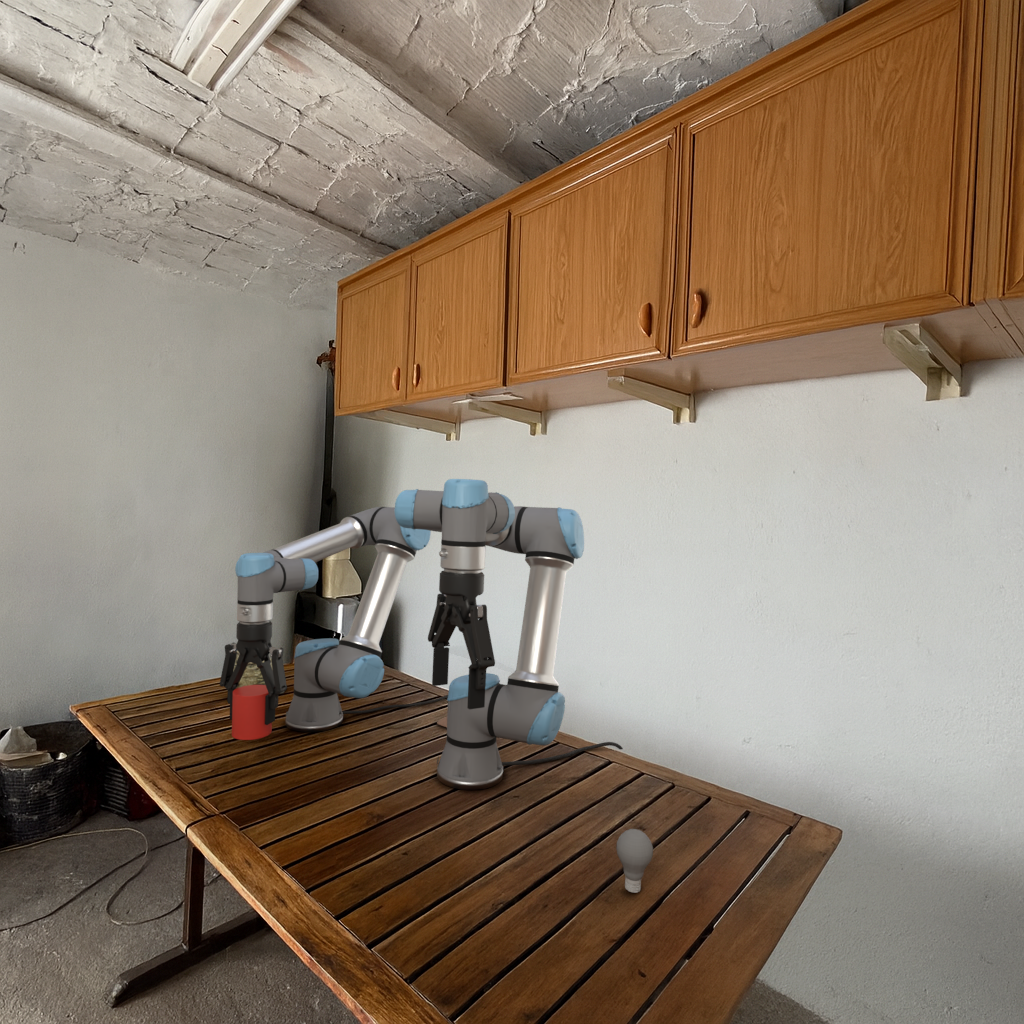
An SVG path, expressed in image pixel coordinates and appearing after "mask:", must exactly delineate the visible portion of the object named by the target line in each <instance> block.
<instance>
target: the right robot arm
mask: <svg viewBox="0 0 1024 1024" xmlns="http://www.w3.org/2000/svg"><path fill="white" fill-rule="evenodd" d="M394 508H395V509H394V512H395V518H396V521H397V522H398V524H399V525H400V526H401V527H404V528H411V529H423V530H430V531H431V532H436V533H437V532H438V533H441V541H440V543H441V544H440V550H439V552H438V555H439V557H440V568H441V569H443V570H441V571H440V572H439V583H438V591H439V593H438V594H437V597H436V605H435V610H434V613H433V617H432V621H431V624H430V628H429V631H428V635H427V641H428V642H429V643H431V646H432V648H433V652H432V653H433V654H432V655H433V656H432V676H431V680H432V681H431V685H432V686H433V687H436V686H437V687H438V686H445V685H446V686H447V685H448V684H449V686H448V694H447V695H448V698H446V700H447V710H446V711H447V713H446V714H447V715H446V716H447V727H446V742H445V745H444V747H443V750H442V753H441V756H440V755H438V756H437V760H436V766H437V768H436V778H437V780H438V781H439V782H440V783H441V784H442V785H445V786H447V787H449V788H452V789H456V790H463V791H478V790H479V791H480V790H486V789H489V788H492V787H494V786H496V785H498V784H499V783H501V782H502V780H503V778H504V767H507V766H508V767H509V766H522V765H523V766H527V765H535V764H542V763H547V762H552V761H557V760H561V759H565V758H568V757H572V756H574V755H576V754H580V753H582V752H585V751H591V750H595V749H599V748H603V747H609V746H611V747H615V748H616V749H618V750H624V749H623V747H622V746H621V744H619V743H618V742H613V741H605V742H601V743H597V744H593V745H592V744H591V745H588V746H583V747H580V748H577V749H574V750H572V751H569V752H566V753H562V754H558V755H554V756H548V757H543V758H536V759H530V760H529V759H528V760H514V761H513V760H511V761H502V759H501V756H500V752H499V748H498V743H497V741H498V740H497V739H498V738H499V739H504V740H508V741H513V742H519V743H524V744H527V745H529V746H530V745H535V746H542V747H545V746H548V745H550V744H551V743H552V742H554V740H555V739H556V738H557V736H558V733H559V731H560V728H561V725H562V723H563V719H564V716H565V715H564V714H565V709H566V704H565V703H566V698H565V695H564V694H563V693H562V692H560V691H559V687H560V684H559V682H558V681H557V679H556V677H555V676H554V672H555V663H556V656H557V648H558V641H559V632H560V623H561V616H562V610H563V609H562V607H563V603H564V602H563V601H564V593H565V585H566V577H567V573H568V572H569V571H570V570H571V569H573V568H574V565H575V560H578V559H581V558H582V557H583V554H584V550H585V532H584V526H583V521H582V518H581V516H580V514H579V512H577V511H576V510H575V509H570V508H562V507H541V506H540V507H539V506H524V505H523V506H521V505H519V506H514V504H513V502H512V500H511V499H510V498H509V497H508V496H507V495H505V494H502V493H500V492H497V491H496V492H493V491H492V492H489V485H488V483H487V481H485V480H482V479H471V478H470V479H468V478H449V479H447V480H446V481H445V482H444V485H443V490H430V489H429V490H428V489H419V488H416V489H405V490H402V491H401V492H400V493H399V494H398V495H397V496H396V499H395V502H394ZM487 547H491V548H494V549H498V550H501V551H505V552H508V553H511V554H519V555H525V557H524V561H525V563H526V564H527V565H528V567H529V574H528V581H527V588H526V589H527V590H526V596H525V602H524V603H525V604H524V611H523V617H522V625H521V631H520V639H519V646H518V652H517V653H518V654H517V659H516V668H515V671H513V673H510V675H509V676H508V677H507V684H503V683H501V679H500V677H499V675H497V674H495V673H489V672H487V669H488V668H492V667H495V665H496V660H495V654H494V648H493V643H492V638H491V634H490V633H491V631H490V628H489V623H488V607H487V605H486V604H477V597H478V596H482V595H483V594H484V590H485V574H484V573H483V572H482V571H483V570H485V568H486V548H487ZM456 628H457V629H458V631H459V632H461V633H462V636H463V640H464V643H465V646H466V650H467V653H468V656H469V660H470V663H471V664H470V665H469V666H468V667H467V668H468V674H463V675H461V676H458V677H456V678H454V679H453V680H452V681H451V682H450V683H449V682H448V681H449V662H450V660H449V659H450V647H451V645H450V640H451V637H452V636H453V634H454V631H455V629H456ZM439 756H440V758H439Z"/></svg>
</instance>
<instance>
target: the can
mask: <svg viewBox="0 0 1024 1024" xmlns="http://www.w3.org/2000/svg"><path fill="white" fill-rule="evenodd" d="M268 694H269V693H268V690H267V688H266V685H248V686H243V687H239V688H237V689H235V690H234V691H233V701H232V720H231V737H232V738H234V739H236V740H238V741H253V740H259V739H262V738H265V737H268V736H270V734H272V731H273V729H272V728H273V722H272V723H270V724H268V725H265V696H266V695H268Z"/></svg>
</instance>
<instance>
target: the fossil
mask: <svg viewBox="0 0 1024 1024" xmlns="http://www.w3.org/2000/svg"><path fill="white" fill-rule="evenodd" d="M239 655H240V654H239V652H238V650H237V656H236V661H235V666H234V669H235V667H236V665H237V663H236V662H237V660H238V658H239ZM269 658H270V660H272V657H269ZM263 662H264V661H263ZM270 665H271V667H272V661H271V663H270ZM272 670H273V669H272ZM233 671H234V670H233ZM239 685H240V686H238V687H236V688H239V687H243V686H248V685H265V682H264V679H263V677H262V674H261V671H260V669H259V668H258V667H257V665H256V664H255V663H252V662H249V663H248V665H247V667H246V669H245V671H244V673H243V675H242V678H241V680H240V682H239ZM281 694H284V692H282V693H281Z"/></svg>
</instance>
